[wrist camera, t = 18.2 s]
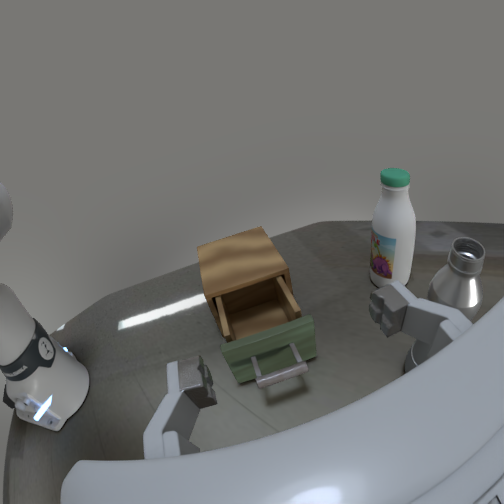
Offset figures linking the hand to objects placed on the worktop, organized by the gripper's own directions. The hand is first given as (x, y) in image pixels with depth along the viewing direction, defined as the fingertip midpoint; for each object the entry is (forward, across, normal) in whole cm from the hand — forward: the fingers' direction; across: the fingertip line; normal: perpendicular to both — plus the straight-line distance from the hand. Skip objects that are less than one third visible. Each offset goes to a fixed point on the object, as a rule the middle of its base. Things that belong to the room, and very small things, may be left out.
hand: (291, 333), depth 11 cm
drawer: (+17, 0, +23) cm, 29 cm away
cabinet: (+30, 0, +24) cm, 38 cm away
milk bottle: (+22, -25, +24) cm, 41 cm away
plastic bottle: (+3, -18, +24) cm, 30 cm away
